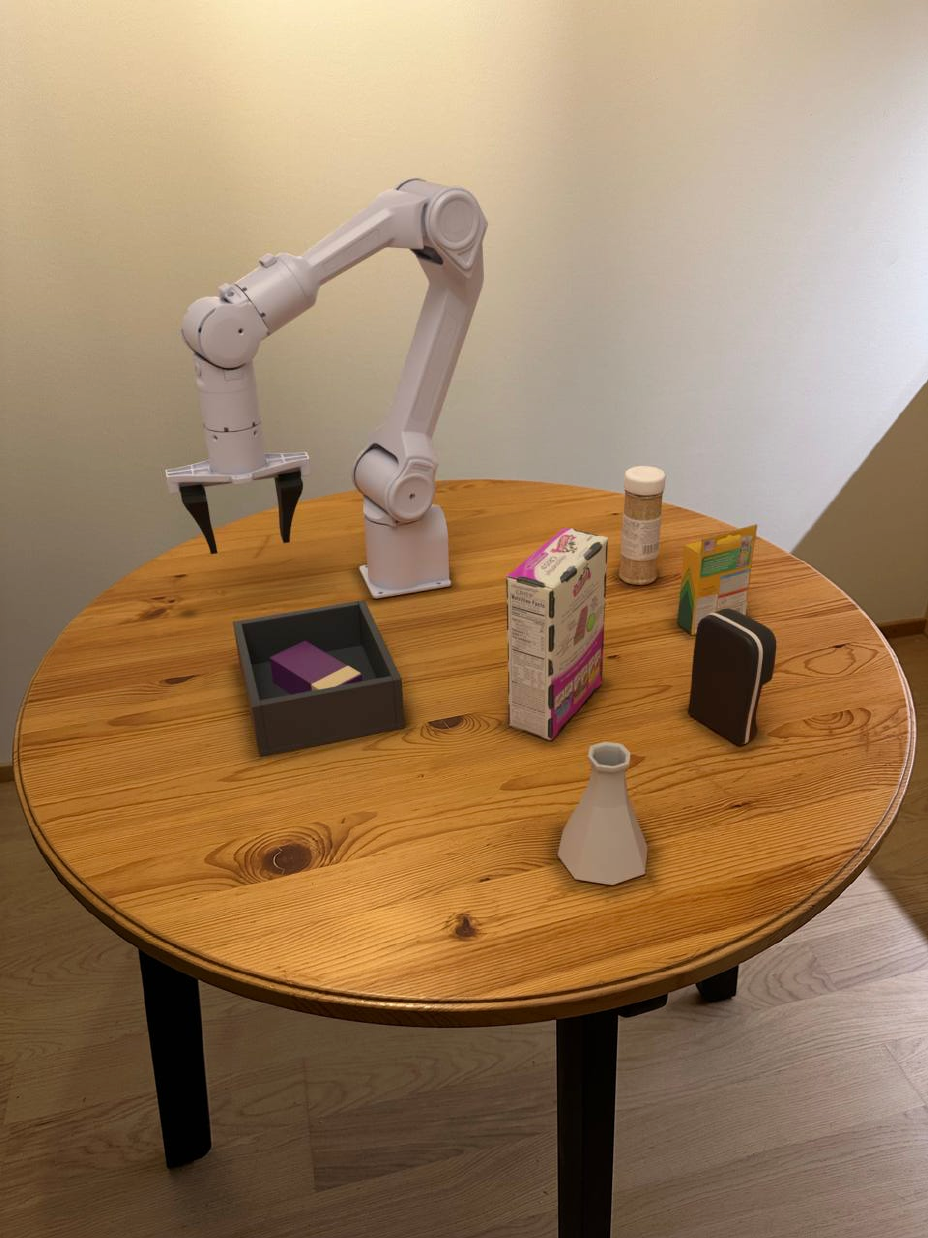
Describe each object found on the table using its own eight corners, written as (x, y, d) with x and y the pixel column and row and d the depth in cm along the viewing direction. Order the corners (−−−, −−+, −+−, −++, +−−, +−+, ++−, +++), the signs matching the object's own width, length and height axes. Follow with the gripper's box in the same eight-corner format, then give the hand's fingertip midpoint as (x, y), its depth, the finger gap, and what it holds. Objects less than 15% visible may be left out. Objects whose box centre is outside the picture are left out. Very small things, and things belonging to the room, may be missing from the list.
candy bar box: (558, 670, 102) (563, 524, 93) (603, 684, 99) (612, 536, 91) (503, 727, 93) (503, 573, 85) (550, 744, 91) (555, 587, 83)
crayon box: (728, 608, 112) (741, 513, 106) (746, 620, 109) (759, 524, 104) (674, 623, 109) (684, 527, 103) (691, 636, 107) (702, 538, 101)
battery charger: (769, 734, 92) (787, 628, 86) (740, 750, 90) (757, 642, 84) (711, 699, 97) (725, 597, 91) (684, 713, 95) (696, 609, 89)
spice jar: (648, 566, 121) (656, 462, 114) (662, 584, 117) (672, 477, 110) (612, 571, 120) (619, 466, 113) (625, 589, 116) (633, 481, 109)
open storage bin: (368, 644, 107) (364, 599, 104) (404, 728, 94) (401, 678, 91) (240, 667, 103) (232, 621, 100) (259, 757, 90) (251, 707, 87)
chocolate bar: (308, 665, 102) (305, 639, 101) (364, 699, 97) (362, 673, 95) (272, 682, 100) (268, 657, 98) (328, 719, 94) (325, 693, 92)
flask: (550, 826, 82) (553, 728, 77) (636, 819, 82) (645, 722, 77) (565, 891, 76) (569, 789, 70) (659, 884, 76) (670, 782, 71)
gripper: (159, 445, 95) (182, 571, 102) (310, 426, 98) (323, 549, 105) (156, 421, 101) (178, 542, 107) (299, 405, 104) (311, 523, 111)
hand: (249, 544), depth 107 cm, fingers open, 7 cm apart
